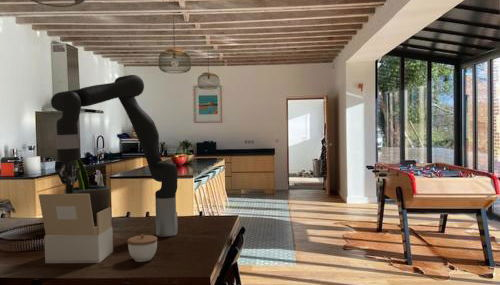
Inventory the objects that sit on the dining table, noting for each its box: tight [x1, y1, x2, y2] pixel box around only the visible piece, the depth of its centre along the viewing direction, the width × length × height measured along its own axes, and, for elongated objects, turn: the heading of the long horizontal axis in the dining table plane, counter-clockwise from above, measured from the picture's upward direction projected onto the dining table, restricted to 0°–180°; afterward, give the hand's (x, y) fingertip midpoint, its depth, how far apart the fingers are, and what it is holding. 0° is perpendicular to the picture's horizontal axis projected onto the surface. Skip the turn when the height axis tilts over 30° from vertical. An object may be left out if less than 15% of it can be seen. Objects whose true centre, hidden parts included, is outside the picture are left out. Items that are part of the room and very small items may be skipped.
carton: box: [43, 206, 114, 264], centre depth 161 cm, size 20×15×18 cm
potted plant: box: [63, 158, 111, 226], centre depth 215 cm, size 21×22×40 cm
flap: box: [38, 193, 95, 236], centre depth 151 cm, size 18×16×1 cm
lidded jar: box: [127, 233, 158, 263], centre depth 157 cm, size 11×11×9 cm
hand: (70, 195), depth 153 cm, fingers closed
